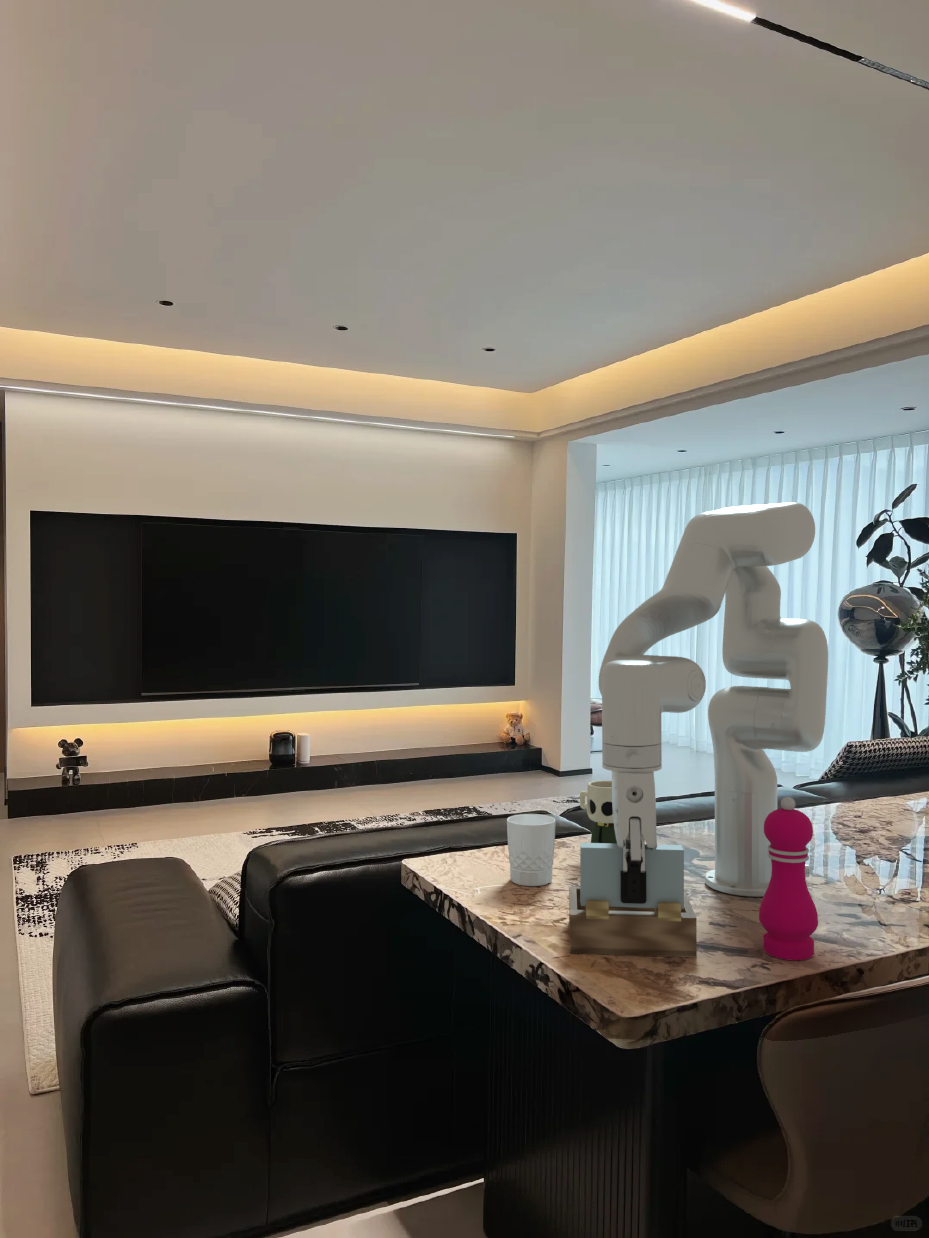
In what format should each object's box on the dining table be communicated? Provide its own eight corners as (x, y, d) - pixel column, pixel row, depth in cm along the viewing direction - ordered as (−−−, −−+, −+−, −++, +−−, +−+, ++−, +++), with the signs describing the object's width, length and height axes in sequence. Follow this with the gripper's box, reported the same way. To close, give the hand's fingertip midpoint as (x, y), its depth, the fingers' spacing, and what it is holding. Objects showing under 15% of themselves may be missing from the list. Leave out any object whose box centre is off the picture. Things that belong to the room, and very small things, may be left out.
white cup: (553, 889, 147) (552, 825, 147) (503, 886, 148) (503, 823, 148) (557, 874, 155) (557, 814, 154) (510, 872, 156) (510, 812, 156)
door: (681, 902, 121) (681, 844, 121) (683, 908, 118) (683, 849, 118) (580, 899, 122) (580, 842, 122) (580, 905, 120) (580, 847, 119)
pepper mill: (750, 942, 123) (749, 791, 123) (802, 940, 124) (802, 790, 124) (772, 963, 116) (772, 803, 116) (828, 961, 117) (828, 802, 116)
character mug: (570, 856, 165) (570, 783, 165) (589, 847, 171) (589, 777, 171) (626, 866, 159) (626, 790, 159) (644, 857, 165) (644, 783, 164)
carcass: (684, 924, 130) (684, 873, 130) (698, 961, 117) (698, 904, 117) (569, 921, 132) (568, 870, 132) (570, 957, 119) (569, 900, 118)
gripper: (668, 767, 111) (669, 920, 112) (655, 746, 127) (655, 880, 128) (605, 767, 112) (606, 919, 113) (599, 746, 128) (600, 879, 129)
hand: (632, 897), depth 120 cm, fingers closed on door, 2 cm apart
